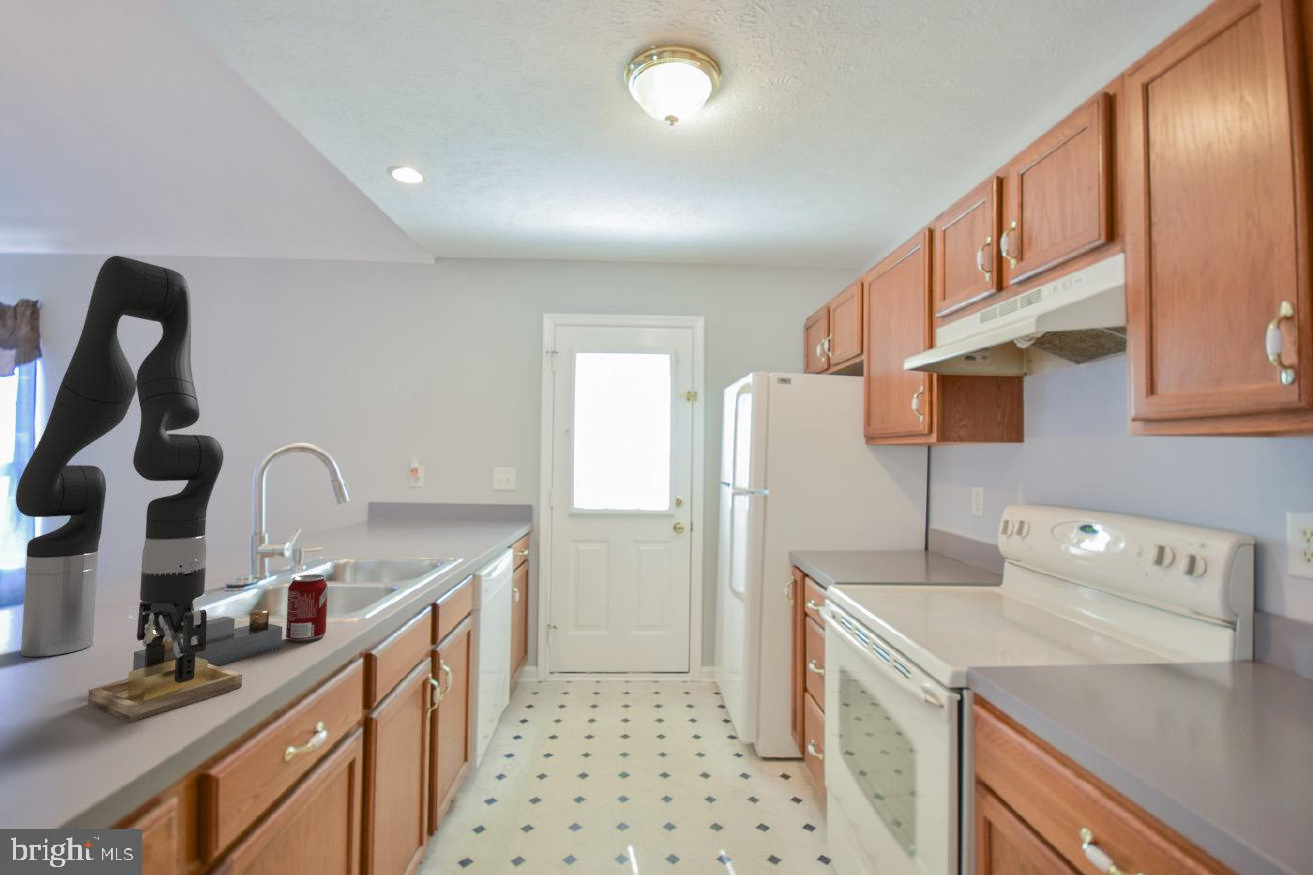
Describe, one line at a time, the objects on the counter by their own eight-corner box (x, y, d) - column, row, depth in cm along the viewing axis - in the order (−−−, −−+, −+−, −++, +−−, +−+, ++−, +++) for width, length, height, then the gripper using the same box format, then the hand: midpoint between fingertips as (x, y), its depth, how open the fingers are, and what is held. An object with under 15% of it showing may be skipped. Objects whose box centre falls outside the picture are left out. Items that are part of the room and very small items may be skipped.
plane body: (151, 684, 92) (155, 619, 93) (132, 676, 95) (135, 614, 95) (281, 648, 110) (283, 594, 111) (262, 643, 113) (264, 590, 113)
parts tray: (88, 703, 85) (88, 689, 85) (199, 673, 97) (199, 660, 97) (129, 722, 79) (130, 707, 79) (241, 687, 92) (242, 674, 92)
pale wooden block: (127, 696, 86) (128, 671, 86) (190, 678, 93) (191, 655, 93) (143, 702, 84) (144, 677, 84) (206, 683, 91) (207, 660, 91)
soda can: (312, 644, 113) (315, 581, 113) (277, 643, 113) (280, 580, 114) (332, 633, 120) (335, 574, 120) (299, 632, 120) (302, 573, 120)
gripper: (119, 565, 89) (114, 674, 88) (170, 576, 82) (164, 693, 82) (178, 558, 95) (173, 660, 95) (228, 567, 89) (223, 676, 89)
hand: (168, 675), depth 88 cm, fingers open, 8 cm apart
